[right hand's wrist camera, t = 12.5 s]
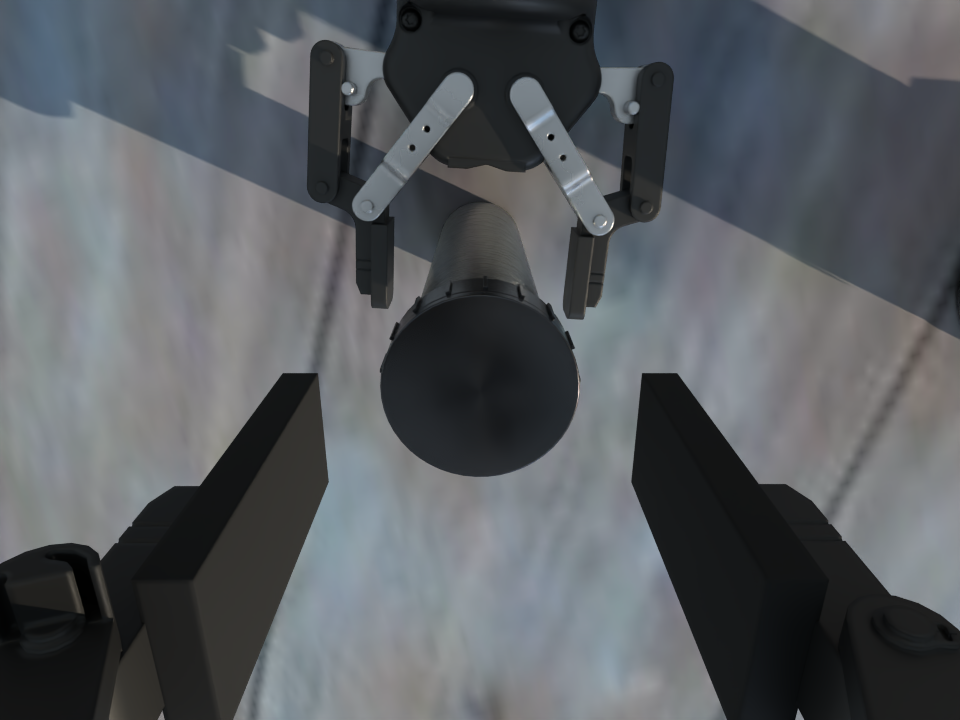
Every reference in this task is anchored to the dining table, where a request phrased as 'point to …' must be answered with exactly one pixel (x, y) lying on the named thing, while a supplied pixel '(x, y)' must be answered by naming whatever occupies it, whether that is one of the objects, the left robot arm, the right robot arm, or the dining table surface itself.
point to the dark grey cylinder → (479, 249)
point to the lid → (480, 378)
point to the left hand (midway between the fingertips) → (477, 309)
